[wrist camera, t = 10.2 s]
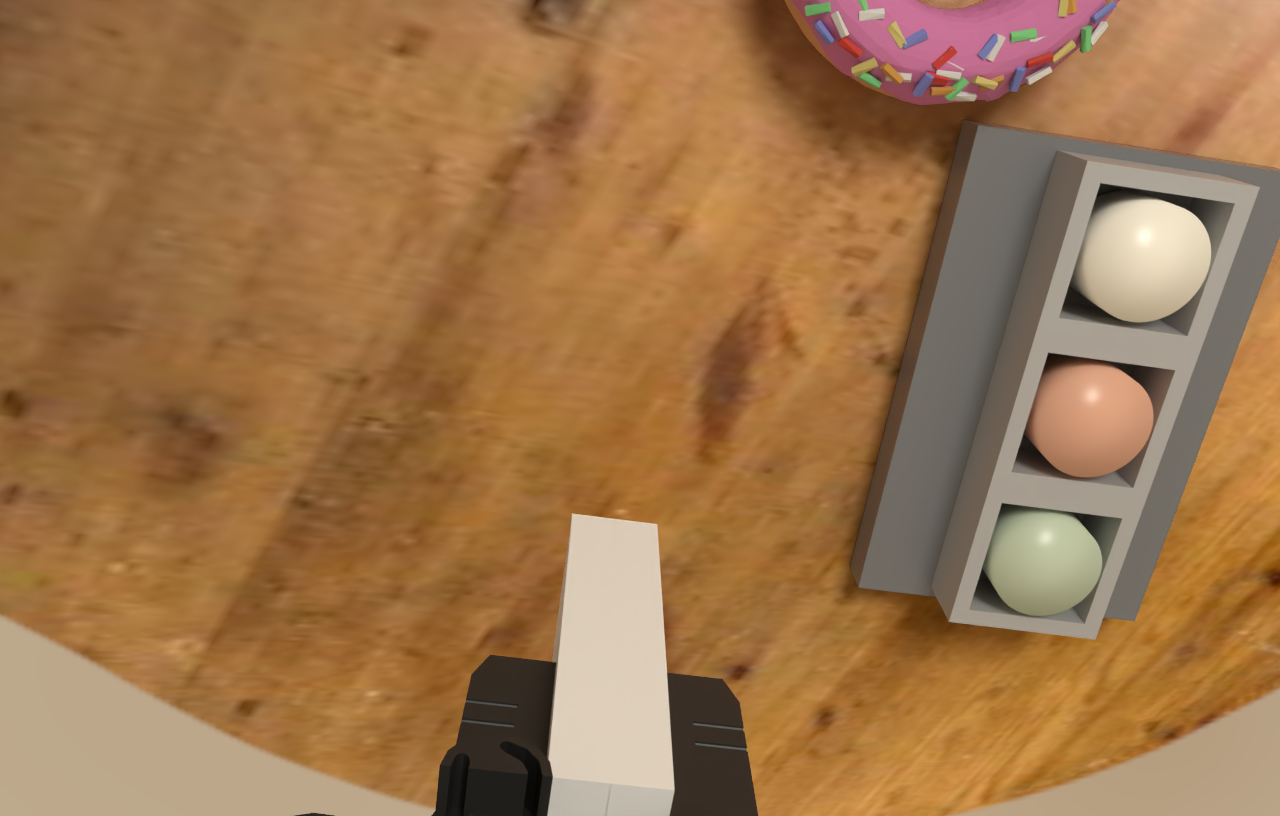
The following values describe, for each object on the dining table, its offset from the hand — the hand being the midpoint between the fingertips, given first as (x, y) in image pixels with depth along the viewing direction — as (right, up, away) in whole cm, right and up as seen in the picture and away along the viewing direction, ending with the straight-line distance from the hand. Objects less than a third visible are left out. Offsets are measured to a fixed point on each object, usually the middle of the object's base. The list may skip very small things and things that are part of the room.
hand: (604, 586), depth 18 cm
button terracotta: (+20, +4, +28) cm, 34 cm away
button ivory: (+21, +10, +25) cm, 34 cm away
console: (+20, +4, +30) cm, 36 cm away
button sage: (+19, -3, +31) cm, 36 cm away
